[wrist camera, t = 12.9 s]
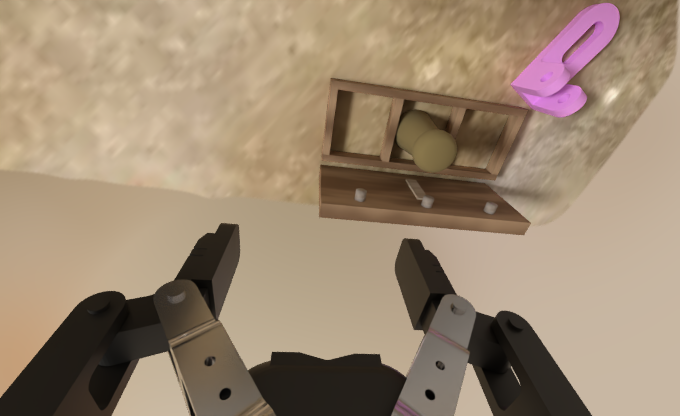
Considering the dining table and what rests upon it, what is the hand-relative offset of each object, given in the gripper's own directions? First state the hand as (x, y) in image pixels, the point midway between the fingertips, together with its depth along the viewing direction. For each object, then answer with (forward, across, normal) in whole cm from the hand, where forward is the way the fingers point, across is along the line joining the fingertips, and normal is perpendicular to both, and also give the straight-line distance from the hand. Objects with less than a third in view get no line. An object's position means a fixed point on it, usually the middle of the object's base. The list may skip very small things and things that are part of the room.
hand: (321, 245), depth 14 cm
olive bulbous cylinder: (+30, -14, +1) cm, 33 cm away
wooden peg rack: (+30, -15, +3) cm, 34 cm away
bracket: (+30, -32, -12) cm, 46 cm away
